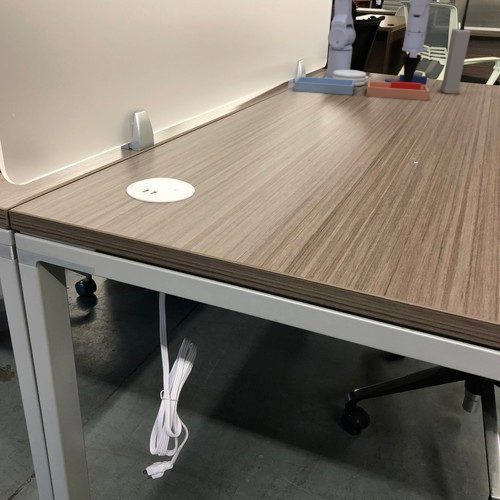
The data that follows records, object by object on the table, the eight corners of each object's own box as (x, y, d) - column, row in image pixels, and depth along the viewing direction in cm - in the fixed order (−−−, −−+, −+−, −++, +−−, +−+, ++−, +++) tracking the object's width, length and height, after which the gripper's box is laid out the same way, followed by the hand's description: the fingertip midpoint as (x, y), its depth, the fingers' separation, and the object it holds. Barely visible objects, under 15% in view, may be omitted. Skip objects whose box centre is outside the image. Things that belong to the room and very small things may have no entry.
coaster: (325, 81, 157) (326, 70, 155) (352, 80, 161) (353, 68, 159) (344, 87, 149) (345, 75, 147) (371, 85, 153) (373, 73, 151)
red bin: (367, 89, 147) (368, 81, 146) (425, 93, 144) (426, 84, 143) (366, 96, 138) (367, 86, 137) (427, 100, 135) (429, 91, 134)
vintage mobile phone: (452, 90, 149) (472, -4, 137) (457, 94, 144) (478, -4, 133) (439, 90, 149) (458, -5, 137) (444, 93, 145) (463, -5, 133)
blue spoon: (384, 85, 154) (385, 75, 153) (384, 82, 158) (385, 72, 157) (425, 88, 152) (427, 77, 151) (424, 85, 156) (426, 75, 154)
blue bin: (299, 84, 151) (299, 76, 149) (354, 88, 147) (355, 80, 146) (293, 90, 142) (294, 82, 141) (352, 95, 139) (353, 85, 138)
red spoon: (374, 93, 140) (375, 81, 138) (374, 90, 144) (375, 79, 142) (419, 96, 138) (421, 84, 136) (418, 93, 141) (420, 82, 140)
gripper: (431, 34, 141) (422, 84, 147) (428, 30, 153) (419, 77, 160) (405, 33, 142) (397, 83, 148) (404, 29, 155) (396, 75, 161)
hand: (407, 80), depth 154 cm, fingers closed on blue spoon
